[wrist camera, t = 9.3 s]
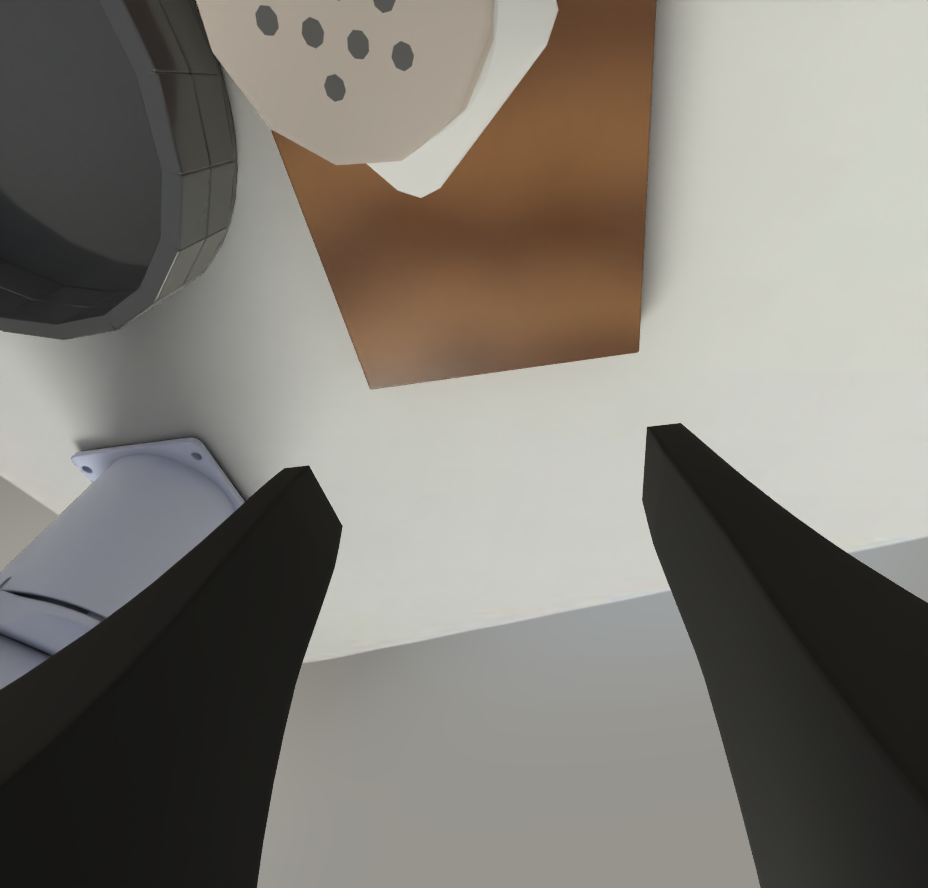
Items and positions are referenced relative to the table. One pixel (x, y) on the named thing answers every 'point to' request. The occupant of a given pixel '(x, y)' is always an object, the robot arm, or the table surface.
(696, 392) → the table surface
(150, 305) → the pan
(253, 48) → the pepper shaker
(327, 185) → the chopping board
